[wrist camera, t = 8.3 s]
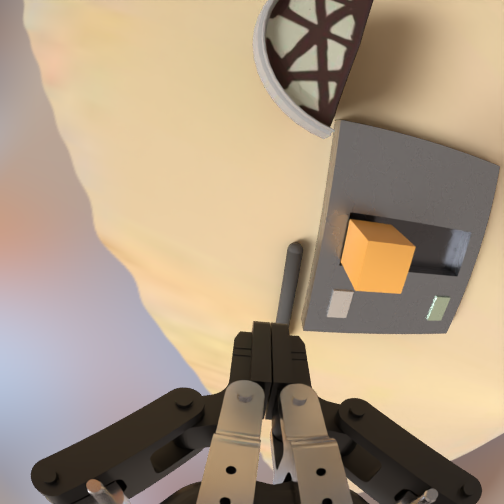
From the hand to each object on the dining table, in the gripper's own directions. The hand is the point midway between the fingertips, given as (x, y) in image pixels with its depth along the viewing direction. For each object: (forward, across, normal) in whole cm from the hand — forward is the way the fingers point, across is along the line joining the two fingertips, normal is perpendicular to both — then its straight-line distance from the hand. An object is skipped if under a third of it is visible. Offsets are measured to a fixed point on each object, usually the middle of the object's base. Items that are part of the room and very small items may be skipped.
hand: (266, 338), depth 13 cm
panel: (+16, -14, 0) cm, 21 cm away
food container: (+16, -1, -15) cm, 22 cm away
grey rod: (+16, -3, +7) cm, 18 cm away
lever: (+16, -9, 0) cm, 18 cm away
